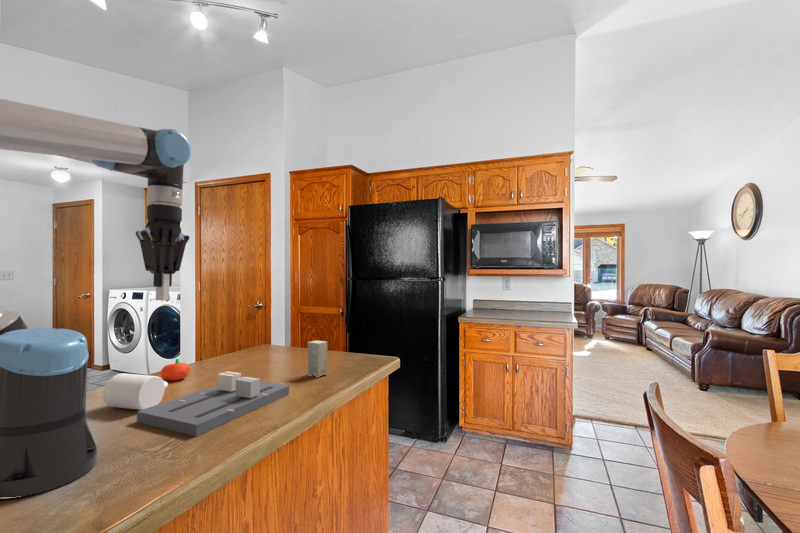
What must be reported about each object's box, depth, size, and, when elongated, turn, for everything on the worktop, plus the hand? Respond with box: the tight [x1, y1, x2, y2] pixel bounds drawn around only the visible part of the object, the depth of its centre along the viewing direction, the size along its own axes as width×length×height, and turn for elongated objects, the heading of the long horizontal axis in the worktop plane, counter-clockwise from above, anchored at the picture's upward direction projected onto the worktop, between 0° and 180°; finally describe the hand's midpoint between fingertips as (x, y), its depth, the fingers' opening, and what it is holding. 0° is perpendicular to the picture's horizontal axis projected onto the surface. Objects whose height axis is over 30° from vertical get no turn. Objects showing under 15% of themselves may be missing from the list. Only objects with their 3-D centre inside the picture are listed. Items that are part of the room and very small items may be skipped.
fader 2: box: [235, 376, 261, 398], centre depth 97 cm, size 3×5×4 cm
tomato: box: [160, 358, 191, 382], centre depth 119 cm, size 7×8×6 cm
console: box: [136, 380, 290, 437], centre depth 96 cm, size 30×19×2 cm, turn 159°
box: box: [307, 340, 328, 377], centre depth 127 cm, size 5×4×11 cm
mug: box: [102, 372, 169, 411], centre depth 97 cm, size 12×10×8 cm
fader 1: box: [217, 370, 242, 392], centre depth 102 cm, size 3×5×4 cm
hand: (162, 299), depth 96 cm, fingers closed
